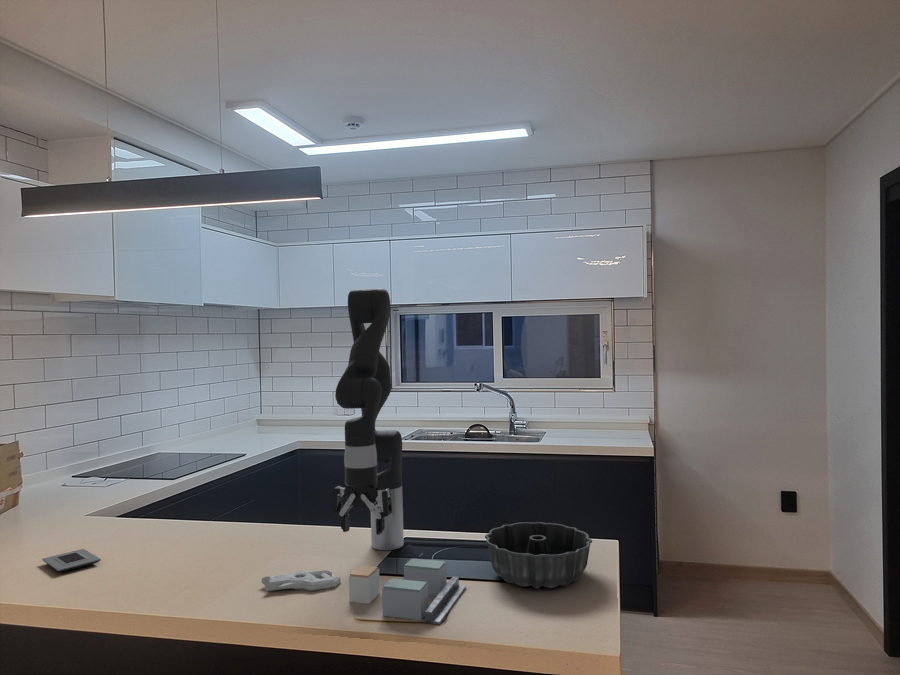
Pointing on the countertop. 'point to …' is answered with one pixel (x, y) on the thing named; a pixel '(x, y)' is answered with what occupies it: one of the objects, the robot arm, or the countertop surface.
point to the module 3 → (405, 599)
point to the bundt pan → (538, 553)
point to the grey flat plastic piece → (302, 581)
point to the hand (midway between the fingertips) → (362, 532)
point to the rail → (444, 601)
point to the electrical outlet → (71, 560)
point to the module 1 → (364, 584)
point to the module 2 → (427, 574)
